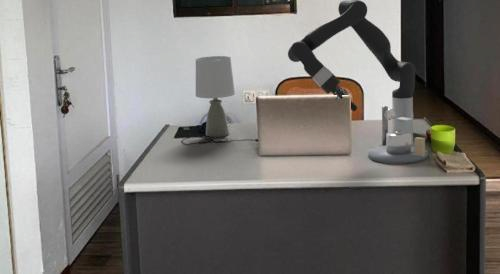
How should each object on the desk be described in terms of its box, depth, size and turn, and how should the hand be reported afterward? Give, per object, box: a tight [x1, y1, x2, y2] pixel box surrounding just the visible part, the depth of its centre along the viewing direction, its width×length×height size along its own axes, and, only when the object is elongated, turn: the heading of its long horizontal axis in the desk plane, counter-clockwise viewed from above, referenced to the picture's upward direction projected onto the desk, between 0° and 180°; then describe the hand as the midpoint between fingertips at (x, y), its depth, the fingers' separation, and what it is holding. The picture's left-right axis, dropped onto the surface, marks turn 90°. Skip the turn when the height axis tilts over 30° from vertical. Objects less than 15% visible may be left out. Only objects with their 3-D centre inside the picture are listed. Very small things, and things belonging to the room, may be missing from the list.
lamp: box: [195, 55, 235, 138], centre depth 362 cm, size 19×19×37 cm
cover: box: [386, 131, 411, 155], centre depth 310 cm, size 10×10×8 cm
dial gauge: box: [379, 105, 396, 146], centre depth 322 cm, size 8×10×18 cm
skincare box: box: [397, 117, 414, 146], centre depth 328 cm, size 6×4×12 cm
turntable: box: [367, 136, 429, 165], centre depth 311 cm, size 24×24×9 cm
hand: (355, 109), depth 312 cm, fingers closed
